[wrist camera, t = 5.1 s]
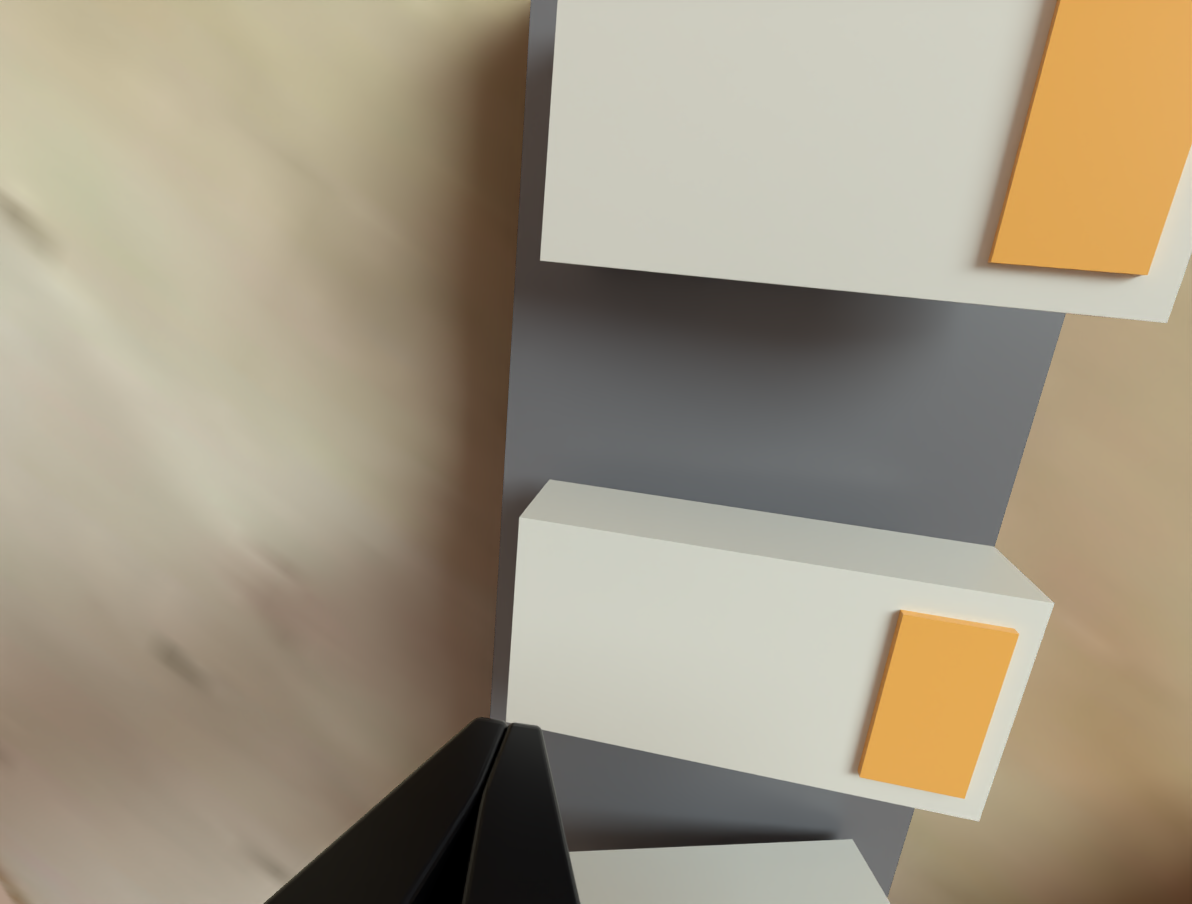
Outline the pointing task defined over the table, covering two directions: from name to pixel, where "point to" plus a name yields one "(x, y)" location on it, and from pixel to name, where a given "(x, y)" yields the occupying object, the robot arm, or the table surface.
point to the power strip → (745, 463)
